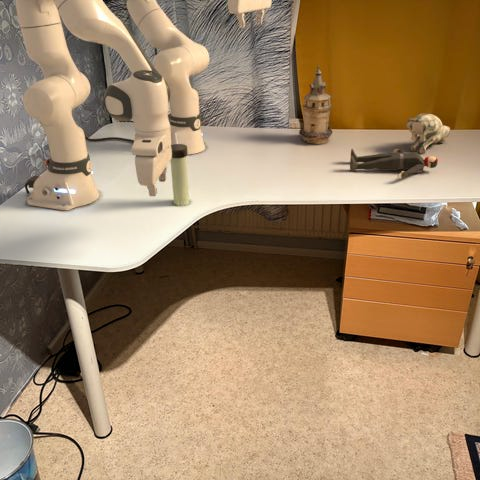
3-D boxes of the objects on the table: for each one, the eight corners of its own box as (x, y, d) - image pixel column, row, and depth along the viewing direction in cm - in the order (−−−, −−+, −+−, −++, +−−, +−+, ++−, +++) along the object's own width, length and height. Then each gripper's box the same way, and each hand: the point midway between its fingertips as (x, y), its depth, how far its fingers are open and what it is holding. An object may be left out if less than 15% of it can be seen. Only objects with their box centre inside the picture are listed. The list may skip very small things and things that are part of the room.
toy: (351, 141, 203) (434, 141, 197) (350, 156, 206) (432, 157, 200) (349, 166, 181) (443, 167, 175) (349, 183, 184) (441, 185, 178)
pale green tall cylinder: (191, 203, 169) (187, 149, 161) (177, 207, 168) (172, 152, 159) (186, 198, 173) (182, 144, 164) (171, 201, 171) (167, 147, 162)
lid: (190, 156, 161) (190, 148, 160) (172, 159, 159) (171, 151, 158) (183, 150, 166) (183, 142, 165) (165, 153, 164) (165, 145, 162)
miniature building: (320, 132, 228) (325, 59, 214) (338, 142, 217) (344, 66, 203) (293, 137, 224) (296, 63, 209) (310, 147, 213) (314, 69, 198)
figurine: (436, 165, 204) (461, 137, 213) (424, 121, 195) (451, 94, 204) (414, 164, 211) (439, 137, 220) (401, 122, 202) (428, 96, 211)
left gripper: (152, 124, 145) (157, 172, 152) (129, 151, 127) (135, 203, 134) (175, 125, 144) (178, 173, 151) (154, 152, 127) (159, 204, 134)
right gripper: (260, -24, 177) (260, 21, 184) (223, -20, 162) (224, 29, 169) (276, -23, 174) (275, 22, 180) (240, -19, 159) (241, 30, 166)
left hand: (158, 187), depth 143 cm, fingers open, 8 cm apart
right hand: (250, 25), depth 175 cm, fingers open, 8 cm apart
